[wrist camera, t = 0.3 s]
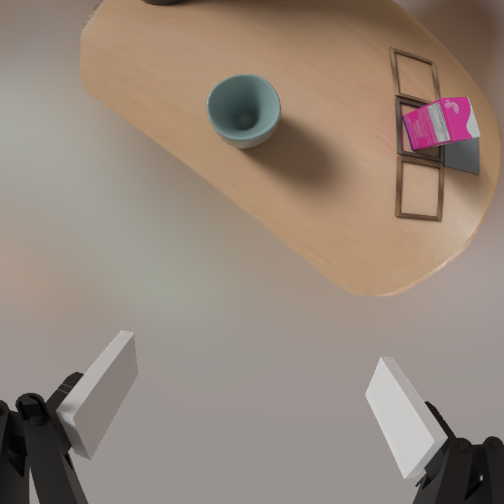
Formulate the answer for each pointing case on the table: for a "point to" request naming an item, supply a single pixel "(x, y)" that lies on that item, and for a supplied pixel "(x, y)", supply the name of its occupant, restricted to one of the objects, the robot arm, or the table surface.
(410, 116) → the supplement box
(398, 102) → the frame
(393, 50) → the frame
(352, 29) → the table surface
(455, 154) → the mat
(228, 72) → the table surface
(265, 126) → the cup
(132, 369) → the robot arm
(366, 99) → the table surface
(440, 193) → the frame
